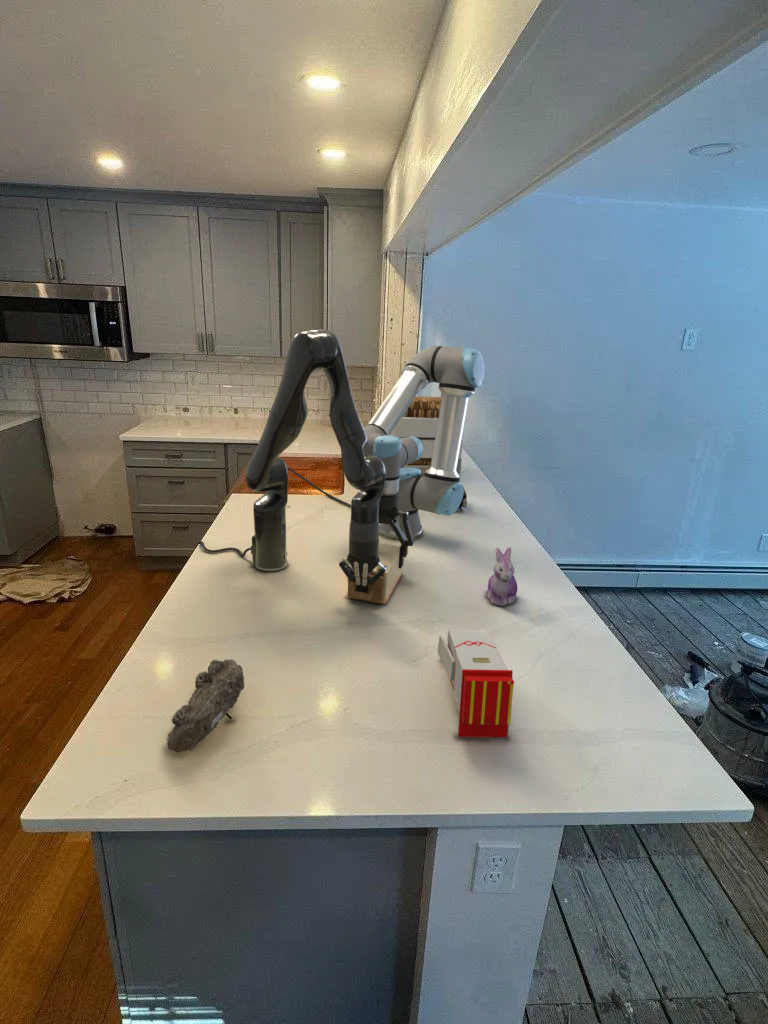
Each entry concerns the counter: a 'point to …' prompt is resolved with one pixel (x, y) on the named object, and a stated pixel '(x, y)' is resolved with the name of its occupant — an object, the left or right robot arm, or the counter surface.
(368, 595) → the drawer
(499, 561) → the figurine
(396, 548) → the cabinet
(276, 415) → the left robot arm
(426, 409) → the grey slatted crate
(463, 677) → the toy
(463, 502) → the figurine character
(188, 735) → the fossil
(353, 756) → the counter surface
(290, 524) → the counter surface
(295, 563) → the counter surface
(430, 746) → the counter surface
